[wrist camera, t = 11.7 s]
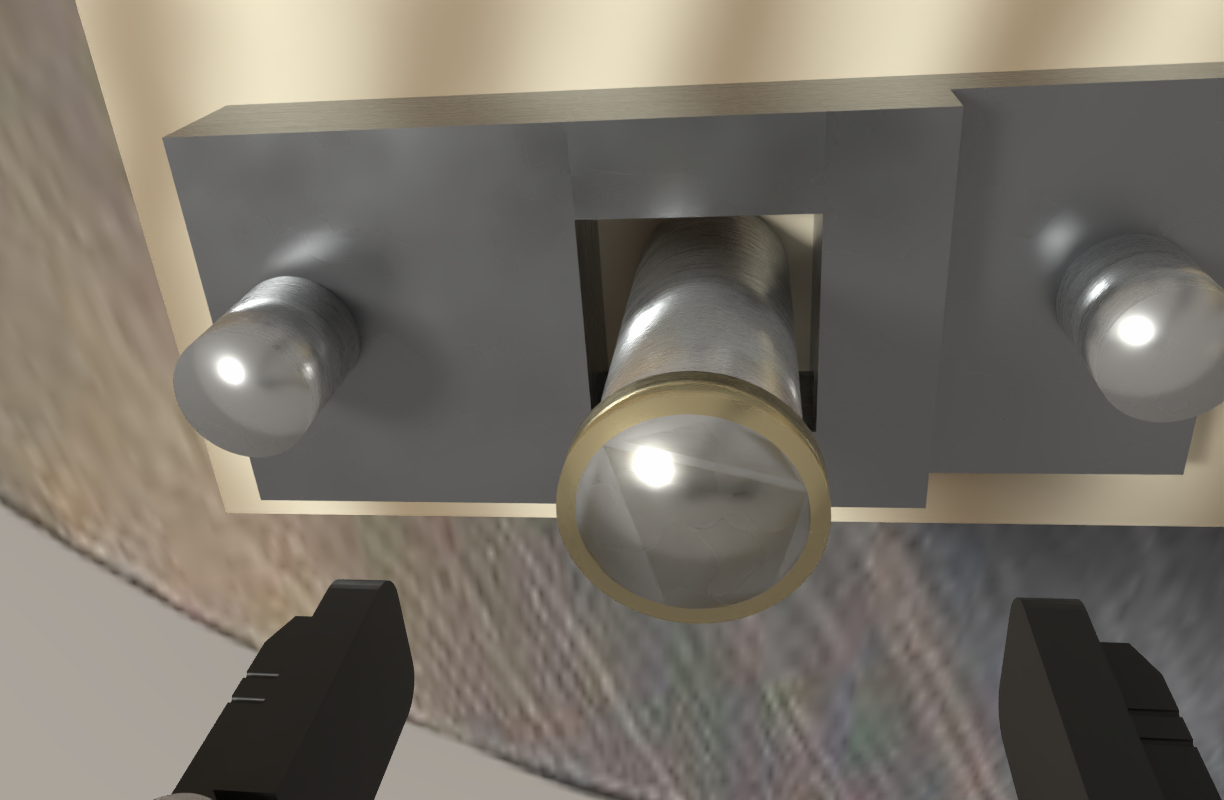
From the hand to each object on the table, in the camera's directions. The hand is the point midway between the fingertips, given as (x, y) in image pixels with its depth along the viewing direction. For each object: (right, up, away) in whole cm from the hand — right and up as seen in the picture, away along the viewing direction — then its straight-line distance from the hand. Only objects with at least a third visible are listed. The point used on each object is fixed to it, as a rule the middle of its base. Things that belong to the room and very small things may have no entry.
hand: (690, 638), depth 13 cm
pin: (+1, +6, +11) cm, 13 cm away
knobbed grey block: (+1, +6, +12) cm, 14 cm away
